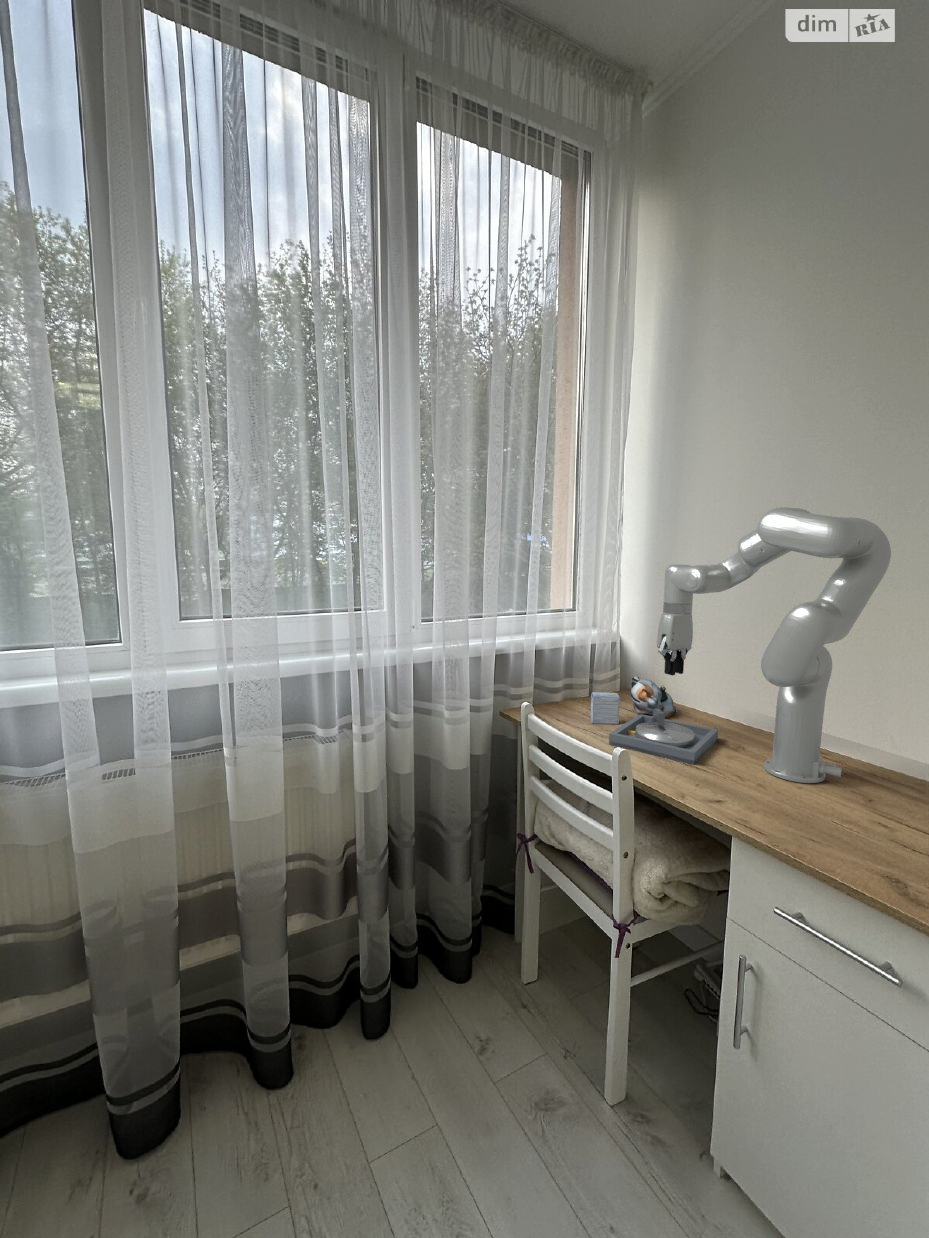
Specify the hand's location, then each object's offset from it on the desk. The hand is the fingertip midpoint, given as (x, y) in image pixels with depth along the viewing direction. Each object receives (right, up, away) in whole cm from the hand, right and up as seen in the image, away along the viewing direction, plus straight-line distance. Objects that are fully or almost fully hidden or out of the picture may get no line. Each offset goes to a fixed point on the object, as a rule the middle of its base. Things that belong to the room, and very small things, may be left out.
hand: (673, 673), depth 159 cm
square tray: (-5, -18, -6) cm, 20 cm away
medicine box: (-17, -16, +11) cm, 26 cm away
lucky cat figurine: (0, -15, +19) cm, 24 cm away
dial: (-5, -17, -6) cm, 19 cm away
